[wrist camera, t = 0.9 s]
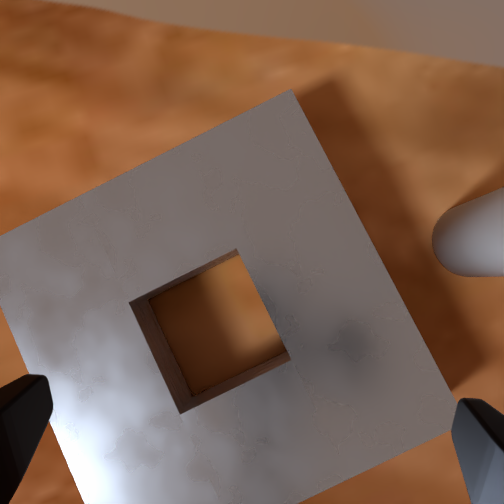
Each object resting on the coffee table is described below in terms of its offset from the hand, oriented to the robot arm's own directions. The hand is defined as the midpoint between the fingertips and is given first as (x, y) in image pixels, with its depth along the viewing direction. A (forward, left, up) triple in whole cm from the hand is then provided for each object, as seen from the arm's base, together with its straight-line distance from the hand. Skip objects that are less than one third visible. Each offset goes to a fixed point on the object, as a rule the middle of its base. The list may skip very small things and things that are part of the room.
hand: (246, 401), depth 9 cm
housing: (+1, +2, -14) cm, 14 cm away
